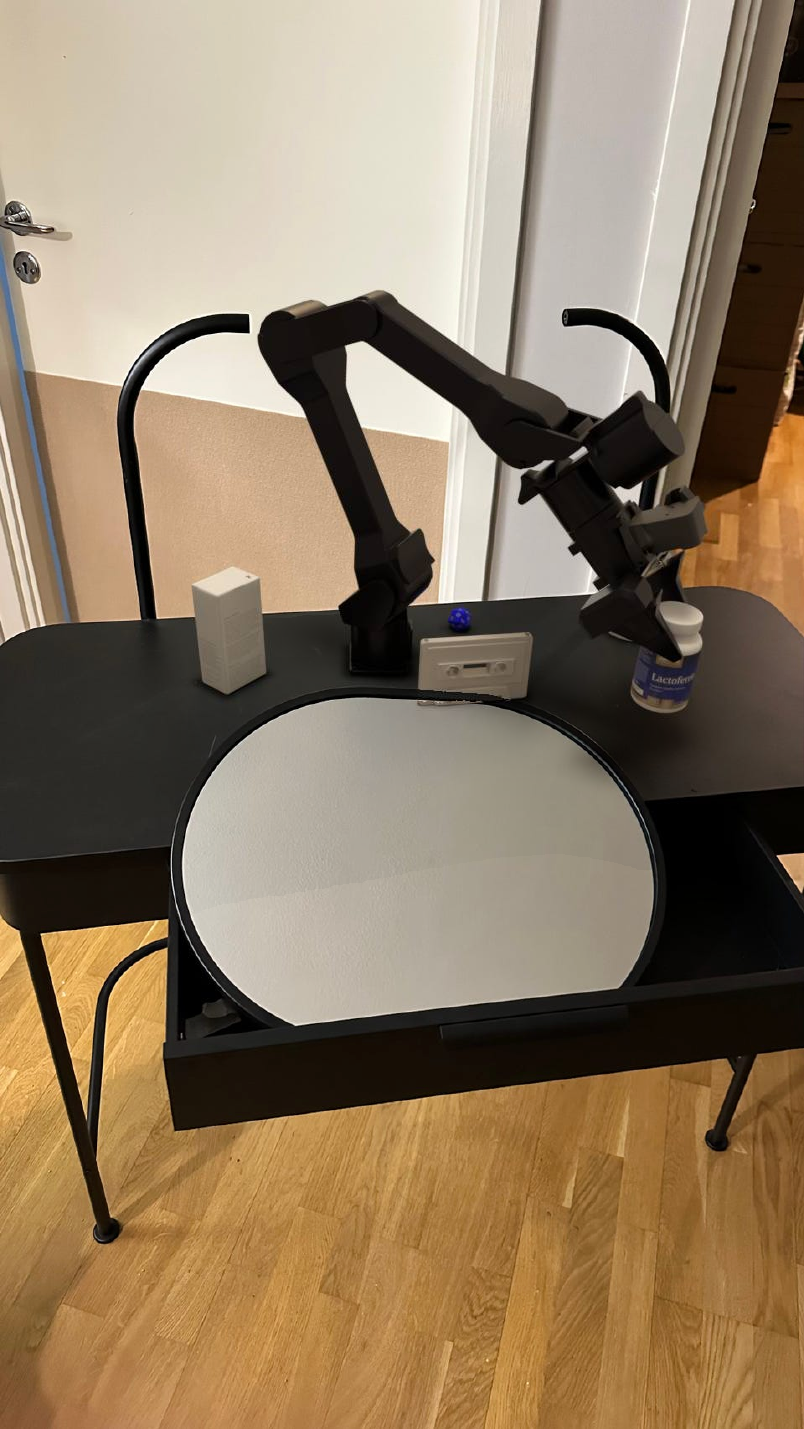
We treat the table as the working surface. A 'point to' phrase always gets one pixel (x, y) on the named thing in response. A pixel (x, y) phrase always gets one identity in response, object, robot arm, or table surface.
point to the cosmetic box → (229, 629)
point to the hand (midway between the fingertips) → (685, 646)
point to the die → (459, 618)
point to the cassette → (463, 650)
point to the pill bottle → (670, 663)
